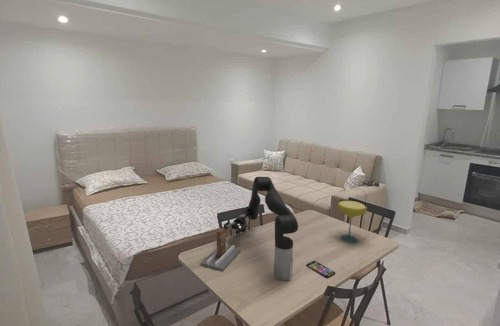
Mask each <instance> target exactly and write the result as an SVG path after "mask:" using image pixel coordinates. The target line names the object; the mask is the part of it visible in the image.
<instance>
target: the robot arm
mask: <svg viewBox="0 0 500 326" xmlns="http://www.w3.org/2000/svg"><path fill="white" fill-rule="evenodd" d="M252 183H253V184H252V189H251V195H250V196H251V197H250V201H249V203H248V206H245V208H244V210H243V213H241V214H240V215H238V217H236V218H235V219H234V220H233V222H230V221H226V222H225V223H224V224H223V229H226V231H227V230H236V231H235V235H239V234H240V233H245V232H247V230H248V224H249V222H250V221H255V220H257V219H258V217H259V212H260V211H259V209H260V205H261V201H262V200H261V197H260V195H259V193H258V192H267V193H266V195H265V196H264V202H265V204H266V207H267V208H268V210H270V211H271V212H272V213H274V214H275V215H276V216H275V218H274V257H273V276H274V277H275V279H277V280H280V281H290V280H291V278H292V276H293V270H294V269H293V268H294V258H293V254H294V253H293V250H294V241H293V239H292V238H290V237H289V236H287V235H289V234H294V233H296V232H297V231H298V229H299V223H298V220H297V218H296V217H295V215H294V213H293V212H292V211H291V210H290V209H289V208H288V206H287V205H286V204H285V202H284V200H283V198H282V197H281V195H280V194H279V193H278V191H277V189H276V187H275V185H274V183H273V180H272V179H271V178H270V177H269V176H255V177H254V180H253V182H252Z"/></svg>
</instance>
